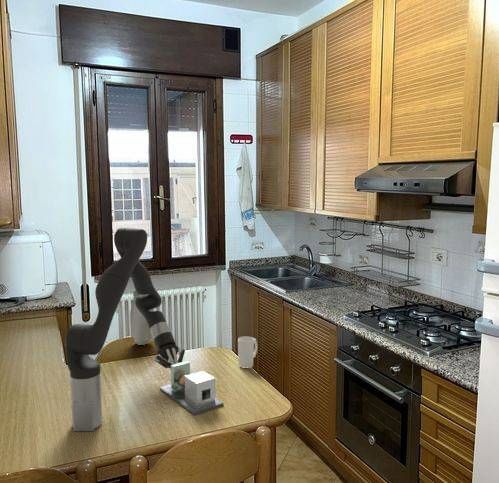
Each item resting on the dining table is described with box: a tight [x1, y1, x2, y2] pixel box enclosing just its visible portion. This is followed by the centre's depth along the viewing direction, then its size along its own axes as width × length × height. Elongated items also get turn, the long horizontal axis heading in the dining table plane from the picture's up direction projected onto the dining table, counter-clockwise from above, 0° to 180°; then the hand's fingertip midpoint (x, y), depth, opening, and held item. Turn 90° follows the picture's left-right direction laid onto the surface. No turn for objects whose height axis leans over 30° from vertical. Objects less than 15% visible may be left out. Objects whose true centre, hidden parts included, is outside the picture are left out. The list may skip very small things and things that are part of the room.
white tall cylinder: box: [129, 289, 153, 346], centre depth 228 cm, size 10×10×28 cm
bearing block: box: [159, 370, 225, 416], centre depth 175 cm, size 25×12×10 cm, turn 38°
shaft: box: [170, 360, 204, 394], centre depth 175 cm, size 15×7×9 cm, turn 38°
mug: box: [237, 336, 258, 369], centre depth 205 cm, size 10×7×12 cm, turn 132°
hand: (178, 375), depth 181 cm, fingers closed
